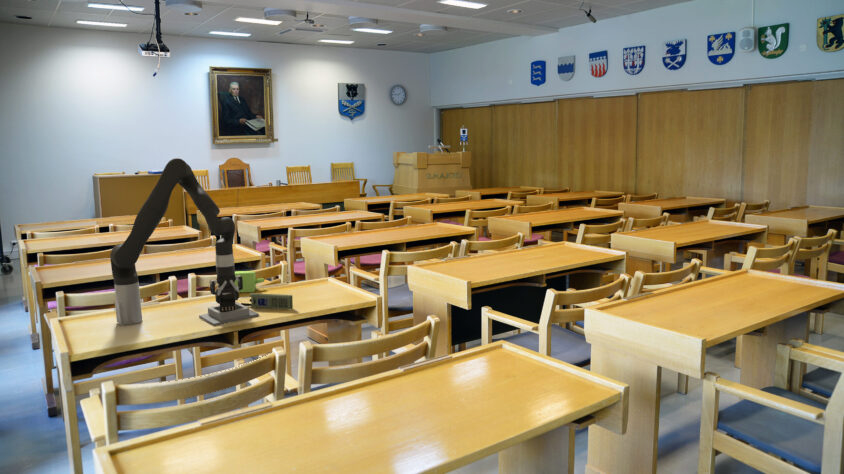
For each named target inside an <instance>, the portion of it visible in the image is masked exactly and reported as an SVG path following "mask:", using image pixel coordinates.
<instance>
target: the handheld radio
mask: <svg viewBox="0 0 844 474" xmlns="http://www.w3.org/2000/svg"><path fill="white" fill-rule="evenodd" d="M249 298H250V299H249V300H248V301H249V302H250V303H245V302H241V303H240V304H242V305H244V306H246V307H251V309H265V308H266V309H267V310H268V309H269V310H270V309H271V310H284V309H292V308H293V309H294V306H293V302H294V301H293V300H294V299H293V294H279V293H278V294H276V293H275V294H274V293H256V292H255V293H254V292H249ZM293 309H292V310H293Z"/></svg>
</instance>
